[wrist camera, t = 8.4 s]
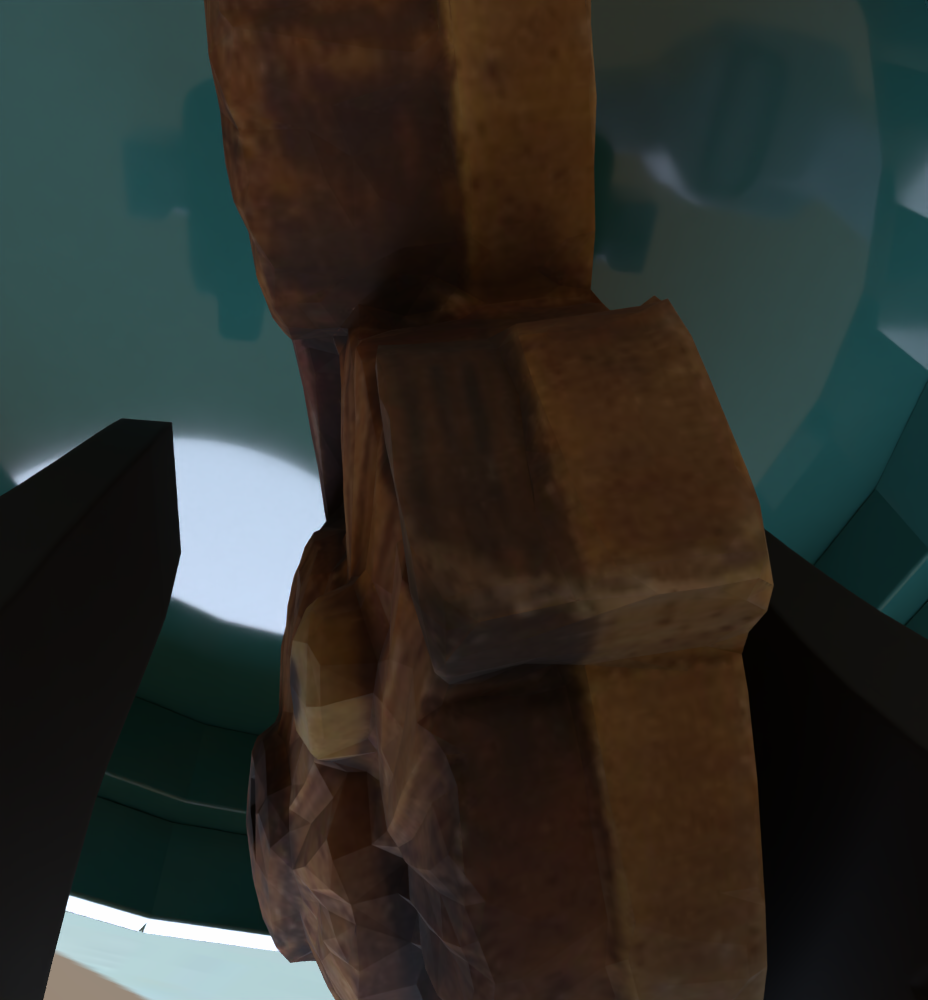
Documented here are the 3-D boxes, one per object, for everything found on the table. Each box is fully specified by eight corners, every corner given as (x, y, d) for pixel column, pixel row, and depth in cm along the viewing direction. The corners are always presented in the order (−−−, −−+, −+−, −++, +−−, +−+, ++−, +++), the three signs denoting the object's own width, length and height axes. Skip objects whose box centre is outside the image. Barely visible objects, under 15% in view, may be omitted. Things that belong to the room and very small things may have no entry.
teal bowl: (1345, -335, 10) (1915, -498, 6) (766, 776, 21) (844, 953, 18) (-690, -825, 7) (-1849, -1638, 3) (-102, 751, 19) (-226, 954, 15)
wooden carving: (132, -159, 10) (-1569, -678, 1) (519, -244, 9) (1144, -1541, 1) (413, 744, 19) (399, 1369, 11) (613, 717, 19) (755, 1340, 10)
